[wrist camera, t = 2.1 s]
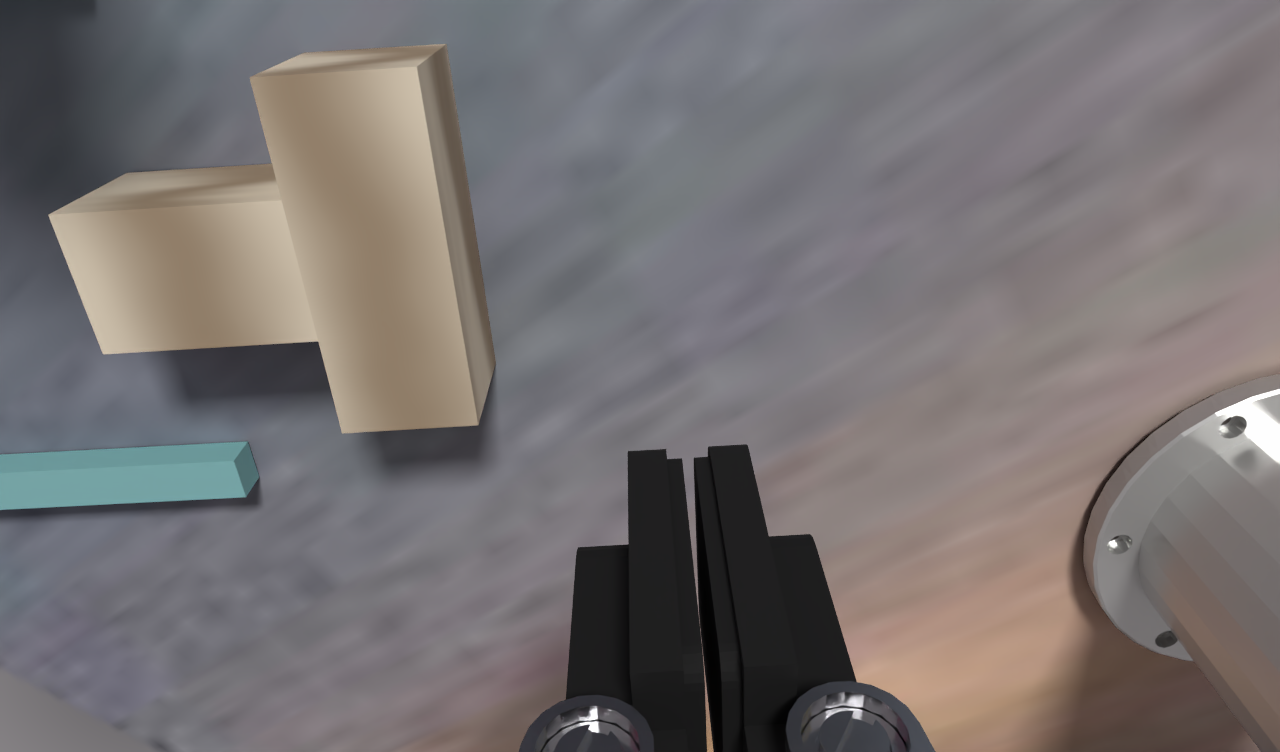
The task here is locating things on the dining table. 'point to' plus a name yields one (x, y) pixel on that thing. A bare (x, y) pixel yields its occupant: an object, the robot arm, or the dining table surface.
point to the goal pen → (126, 475)
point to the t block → (311, 242)
